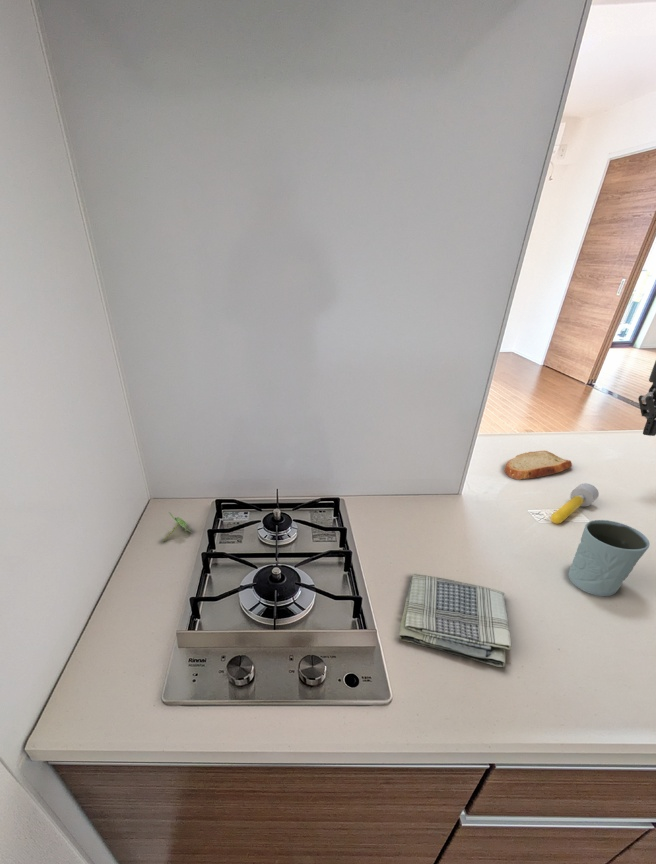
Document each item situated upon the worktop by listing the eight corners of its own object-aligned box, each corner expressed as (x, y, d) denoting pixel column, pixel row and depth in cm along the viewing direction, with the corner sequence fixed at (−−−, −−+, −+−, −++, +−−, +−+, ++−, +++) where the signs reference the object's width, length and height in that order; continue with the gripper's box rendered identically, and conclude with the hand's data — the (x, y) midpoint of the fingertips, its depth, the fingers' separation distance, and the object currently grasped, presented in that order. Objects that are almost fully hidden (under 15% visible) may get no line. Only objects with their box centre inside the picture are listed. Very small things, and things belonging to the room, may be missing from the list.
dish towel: (409, 576, 91) (411, 564, 89) (503, 597, 85) (507, 585, 84) (396, 643, 77) (399, 630, 75) (508, 674, 71) (514, 661, 69)
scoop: (590, 480, 110) (557, 507, 103) (603, 497, 109) (570, 526, 102) (571, 488, 115) (538, 515, 108) (584, 504, 114) (551, 532, 107)
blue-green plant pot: (557, 581, 89) (578, 534, 82) (572, 558, 95) (593, 513, 88) (615, 607, 83) (644, 558, 76) (627, 580, 89) (655, 533, 82)
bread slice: (504, 478, 125) (508, 466, 123) (503, 452, 139) (506, 441, 137) (576, 489, 119) (581, 477, 117) (567, 461, 133) (572, 450, 131)
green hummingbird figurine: (175, 551, 107) (191, 530, 109) (177, 551, 100) (194, 528, 101) (151, 533, 106) (168, 512, 108) (151, 532, 99) (169, 509, 100)
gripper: (672, 361, 99) (645, 437, 104) (712, 365, 102) (683, 438, 108) (638, 360, 105) (614, 431, 111) (677, 364, 109) (651, 433, 115)
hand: (648, 435), depth 110 cm, fingers closed
